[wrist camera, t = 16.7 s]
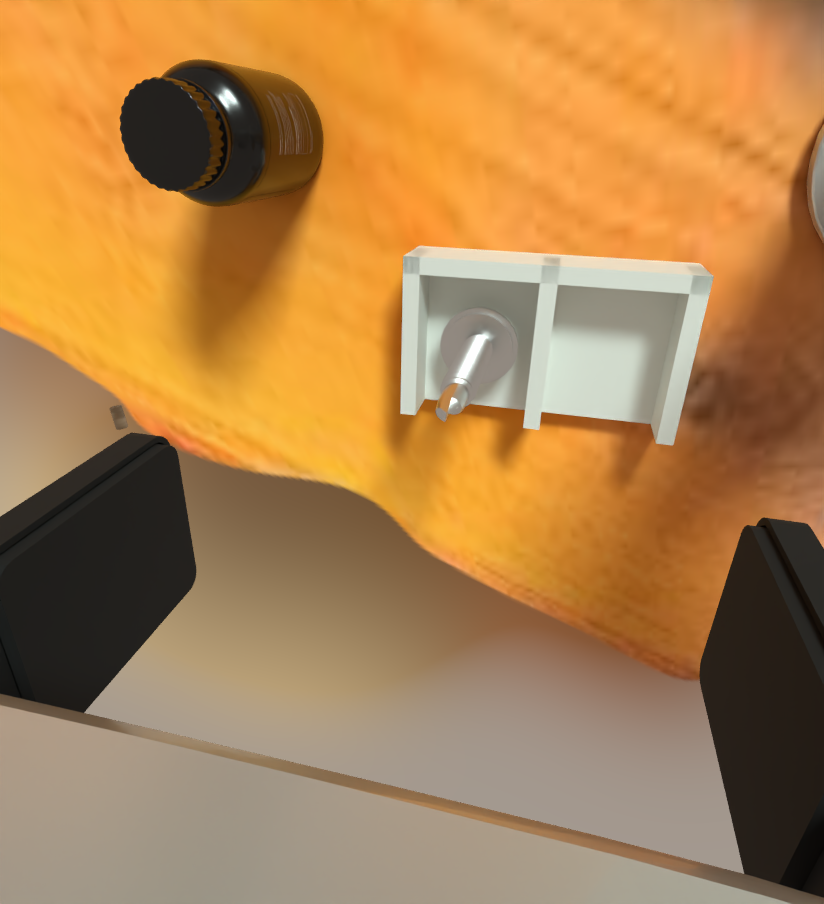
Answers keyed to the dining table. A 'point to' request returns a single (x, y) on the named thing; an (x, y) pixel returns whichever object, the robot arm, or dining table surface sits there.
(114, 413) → the cork
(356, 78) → the dining table surface
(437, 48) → the dining table surface
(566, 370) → the rack
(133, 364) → the dining table surface
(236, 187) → the supplement bottle
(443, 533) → the dining table surface
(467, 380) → the screw
